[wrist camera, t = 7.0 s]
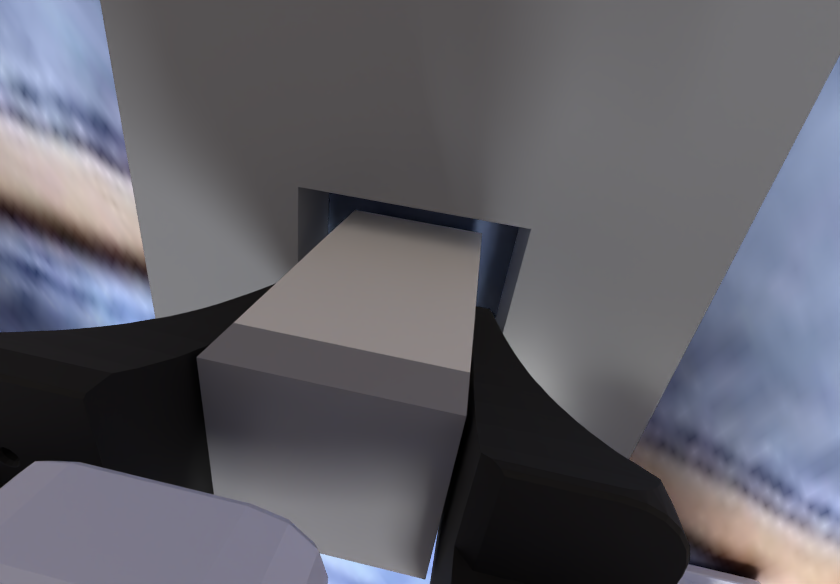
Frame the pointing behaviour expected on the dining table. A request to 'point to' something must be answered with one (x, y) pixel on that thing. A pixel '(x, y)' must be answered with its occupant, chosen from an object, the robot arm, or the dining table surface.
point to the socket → (477, 154)
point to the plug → (350, 389)
